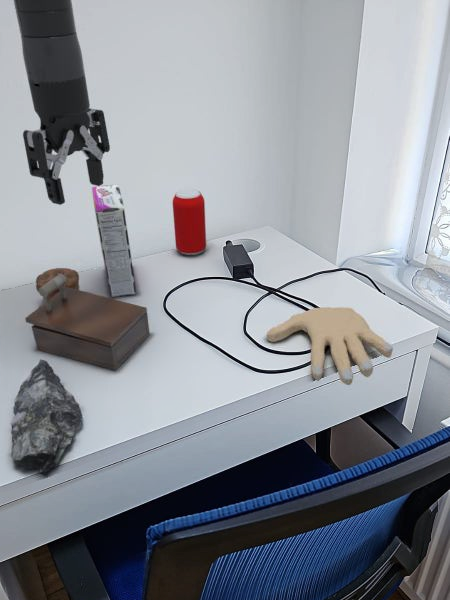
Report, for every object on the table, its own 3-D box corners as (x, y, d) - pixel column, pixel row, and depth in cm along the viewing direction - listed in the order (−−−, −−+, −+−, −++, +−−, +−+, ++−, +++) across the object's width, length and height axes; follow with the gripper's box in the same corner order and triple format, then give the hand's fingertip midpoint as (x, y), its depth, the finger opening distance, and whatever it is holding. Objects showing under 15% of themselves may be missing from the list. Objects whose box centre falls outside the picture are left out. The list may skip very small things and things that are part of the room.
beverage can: (212, 251, 118) (210, 192, 111) (188, 260, 115) (184, 201, 108) (194, 241, 122) (191, 184, 114) (170, 250, 119) (165, 192, 111)
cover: (26, 322, 90) (19, 294, 86) (66, 290, 97) (61, 263, 94) (111, 347, 85) (107, 318, 82) (147, 311, 93) (144, 284, 89)
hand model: (381, 302, 97) (399, 359, 80) (379, 327, 99) (396, 388, 82) (268, 303, 99) (262, 359, 82) (269, 328, 101) (263, 387, 85)
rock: (6, 352, 84) (14, 375, 87) (3, 459, 68) (13, 483, 71) (70, 340, 86) (76, 363, 89) (82, 442, 70) (89, 467, 73)
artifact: (40, 294, 106) (34, 269, 103) (82, 288, 107) (77, 264, 104) (40, 316, 100) (34, 290, 97) (84, 309, 102) (79, 284, 98)
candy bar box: (104, 270, 113) (90, 186, 102) (130, 267, 114) (119, 183, 103) (109, 299, 104) (94, 210, 94) (137, 295, 105) (125, 206, 95)
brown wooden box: (37, 349, 93) (31, 326, 90) (76, 316, 100) (71, 294, 97) (115, 370, 88) (111, 347, 85) (149, 334, 95) (147, 312, 93)
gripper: (71, 61, 83) (90, 175, 94) (-5, 80, 74) (25, 205, 85) (112, 65, 80) (127, 183, 91) (37, 86, 71) (63, 215, 82)
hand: (78, 193), depth 88 cm, fingers open, 8 cm apart
